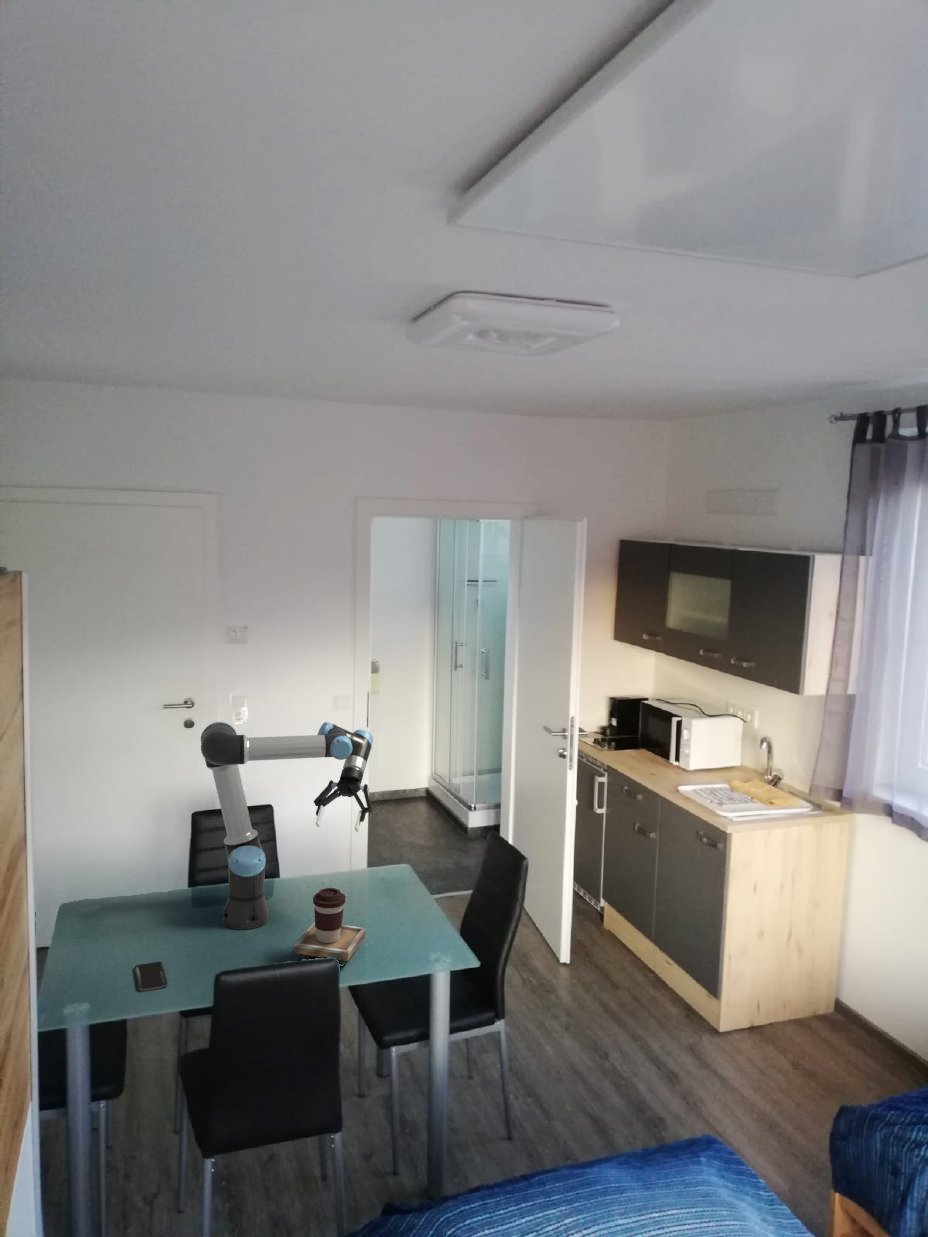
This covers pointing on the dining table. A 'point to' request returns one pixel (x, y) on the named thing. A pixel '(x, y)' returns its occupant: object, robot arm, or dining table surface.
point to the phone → (150, 976)
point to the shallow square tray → (331, 944)
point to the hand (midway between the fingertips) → (336, 827)
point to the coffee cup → (328, 914)
